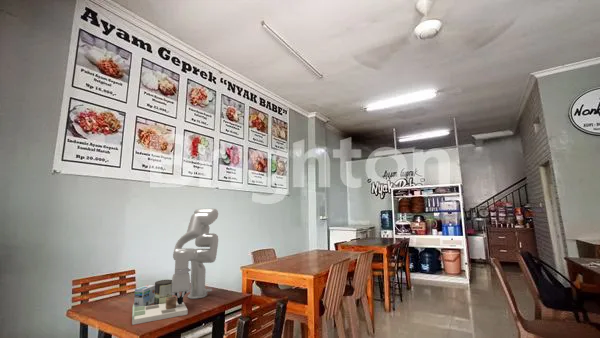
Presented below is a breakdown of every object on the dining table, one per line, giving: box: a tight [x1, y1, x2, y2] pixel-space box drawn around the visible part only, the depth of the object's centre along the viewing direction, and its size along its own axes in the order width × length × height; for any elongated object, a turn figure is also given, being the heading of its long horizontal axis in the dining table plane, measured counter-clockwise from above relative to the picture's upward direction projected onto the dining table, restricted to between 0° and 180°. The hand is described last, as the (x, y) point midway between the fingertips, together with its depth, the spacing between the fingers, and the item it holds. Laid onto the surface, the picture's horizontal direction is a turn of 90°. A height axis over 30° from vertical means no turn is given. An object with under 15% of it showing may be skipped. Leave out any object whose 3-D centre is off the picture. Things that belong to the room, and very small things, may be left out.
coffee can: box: [153, 279, 173, 305], centre depth 177 cm, size 10×10×14 cm
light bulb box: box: [133, 284, 155, 307], centre depth 178 cm, size 11×7×11 cm, turn 169°
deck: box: [131, 300, 189, 326], centre depth 161 cm, size 27×20×4 cm
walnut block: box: [166, 296, 177, 309], centre depth 164 cm, size 5×5×5 cm
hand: (180, 303), depth 167 cm, fingers closed
